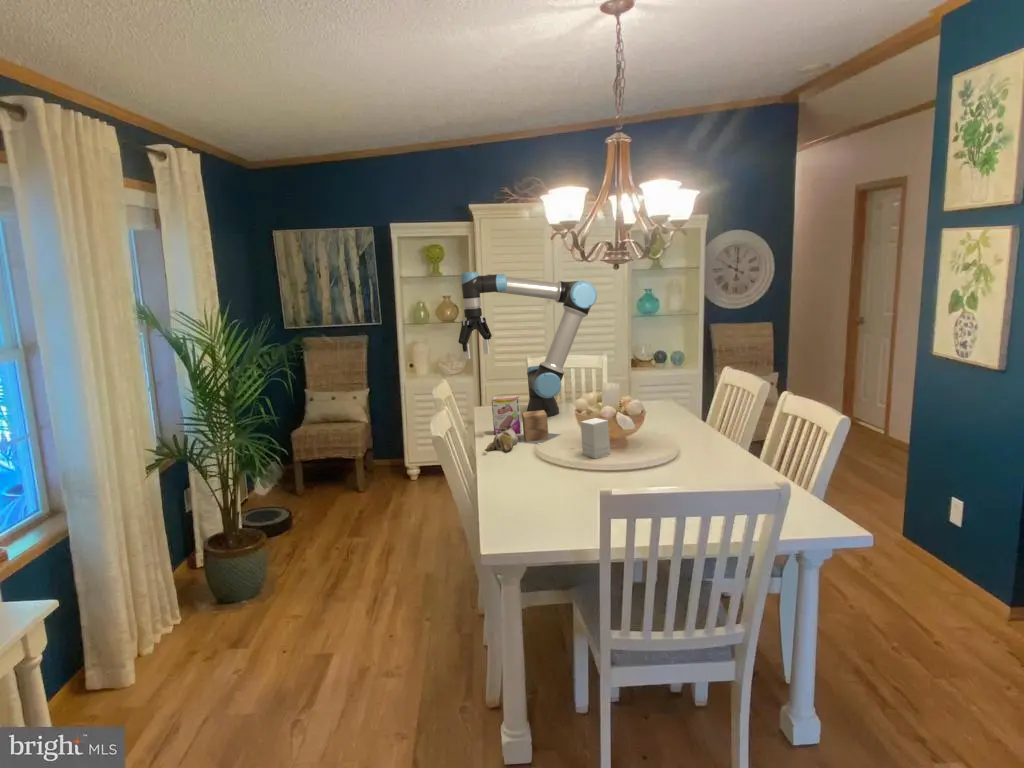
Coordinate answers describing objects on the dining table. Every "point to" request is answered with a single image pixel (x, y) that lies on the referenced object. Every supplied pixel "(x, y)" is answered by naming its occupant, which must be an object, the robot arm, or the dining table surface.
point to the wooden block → (535, 425)
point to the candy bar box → (506, 414)
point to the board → (551, 436)
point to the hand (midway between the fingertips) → (477, 356)
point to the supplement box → (595, 437)
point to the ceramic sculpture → (503, 441)
